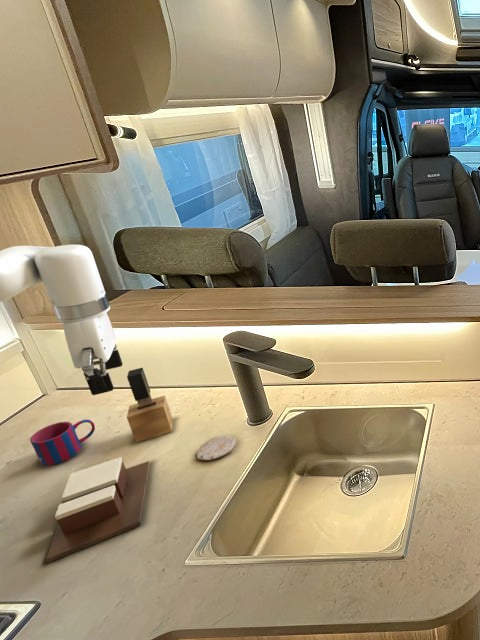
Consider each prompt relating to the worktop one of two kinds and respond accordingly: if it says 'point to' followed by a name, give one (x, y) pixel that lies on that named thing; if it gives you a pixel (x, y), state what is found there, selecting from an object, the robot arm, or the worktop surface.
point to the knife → (140, 387)
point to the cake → (96, 479)
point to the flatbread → (216, 447)
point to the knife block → (150, 419)
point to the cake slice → (88, 509)
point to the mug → (58, 442)
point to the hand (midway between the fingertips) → (108, 379)
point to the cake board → (110, 526)
